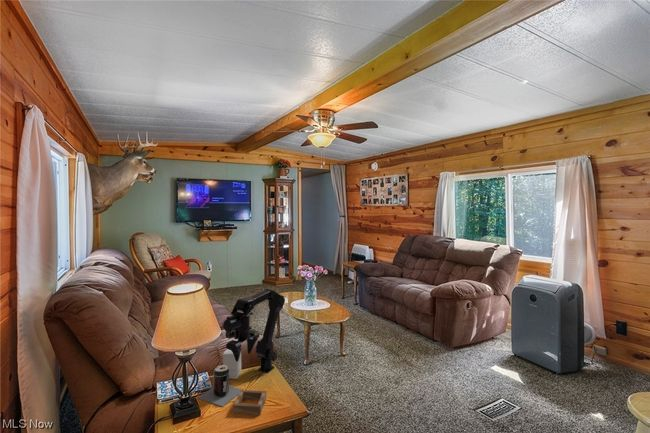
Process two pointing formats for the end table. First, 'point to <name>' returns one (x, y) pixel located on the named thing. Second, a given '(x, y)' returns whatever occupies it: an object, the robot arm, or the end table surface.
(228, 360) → the supplement box
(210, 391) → the slate mat
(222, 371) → the beverage can
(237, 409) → the pocket frame
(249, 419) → the end table surface
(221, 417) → the end table surface
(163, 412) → the end table surface
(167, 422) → the end table surface
